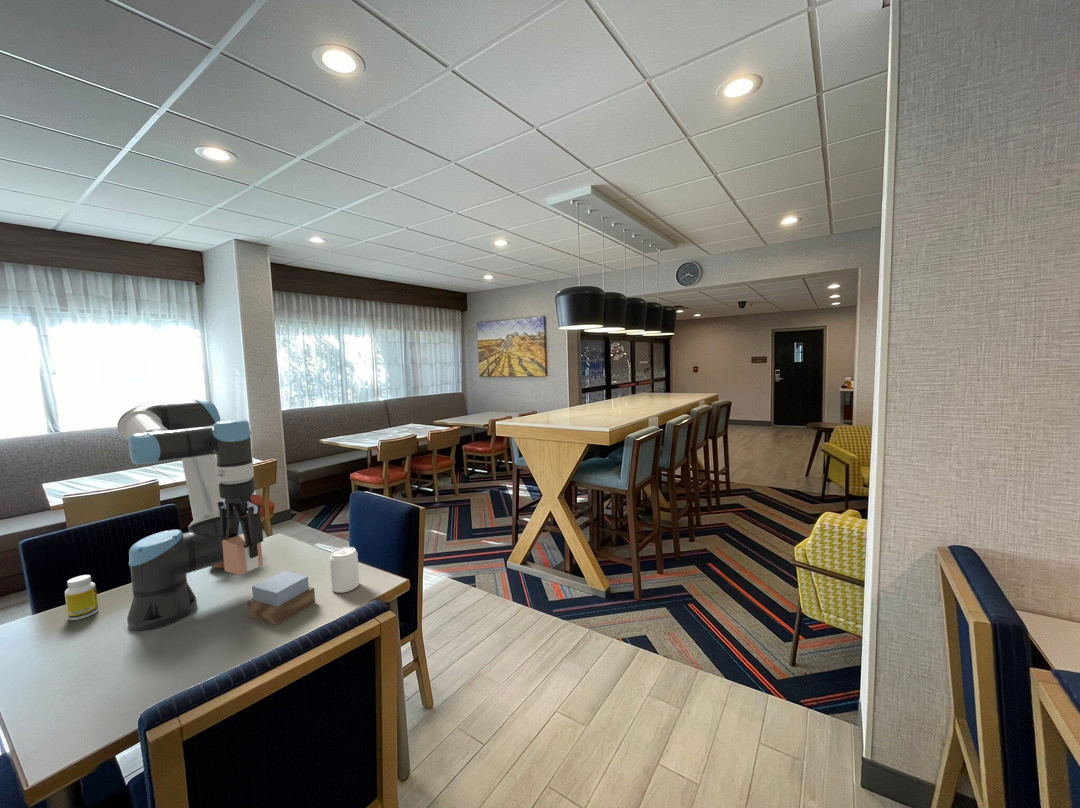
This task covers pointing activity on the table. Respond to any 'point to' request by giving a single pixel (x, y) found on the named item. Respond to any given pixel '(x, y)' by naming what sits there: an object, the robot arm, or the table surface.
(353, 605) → the table surface
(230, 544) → the terracotta block
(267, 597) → the slate block
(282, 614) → the walnut block
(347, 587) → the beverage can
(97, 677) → the table surface
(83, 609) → the pill bottle
